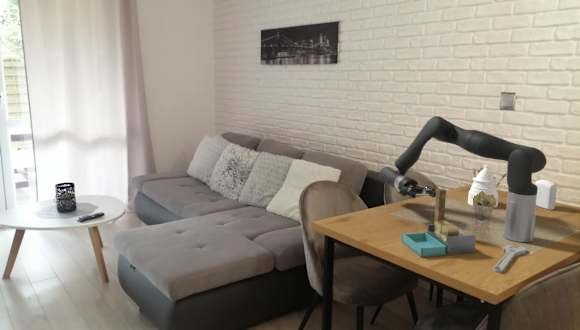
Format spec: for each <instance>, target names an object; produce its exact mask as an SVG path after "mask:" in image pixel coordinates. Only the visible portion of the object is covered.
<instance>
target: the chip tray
mask: <svg viewBox="0 0 580 330" xmlns="http://www.w3.org/2000/svg"><path fill="white" fill-rule="evenodd" d="M401 243H402V244H404V245H405V246H406V247H407V248H409V249H410V250H411V251H412V252H414V253H415V254H416V255H418V256H419V257H420V258H425V257H426V258H428V257H437V256H439V257H440V256H447V255H446V250H447V246H445V245H444V244H442V243H441V242H439V241H438V240H436V239H435V238H433V237H432V236H430V235H429V234H427V233H426V231H423V232H411V233H402V234H401Z"/></svg>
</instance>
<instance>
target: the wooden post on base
mask: <svg viewBox="0 0 580 330" xmlns="http://www.w3.org/2000/svg"><path fill="white" fill-rule="evenodd" d="M435 192H436V196H435V203H434V206H435V207H434V218H433V219H434V220H433V224H435V221H444V220H445V211H446V199H447V189H444V188H436V189H435Z"/></svg>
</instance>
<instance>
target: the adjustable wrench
mask: <svg viewBox="0 0 580 330" xmlns="http://www.w3.org/2000/svg"><path fill="white" fill-rule="evenodd" d="M502 252H504V253H505V254H504V256H502V257H501V258H500V260H499V261H498V262H497V263H496V264H495V265H494V266H493V272H494V273H496V274H502V273H504V271H505V270H506V269H507V268H508V266H509V265H510V264H511V262H512V261H513V259H514V258H515V257H517V256H522V255H525V254H526V252H527V248H526V247H525V246H522V245H519V246H518V247H517V248H516V247H513V246H512V245H511V244H506V245H504V246H502ZM521 254H522V255H521Z"/></svg>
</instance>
